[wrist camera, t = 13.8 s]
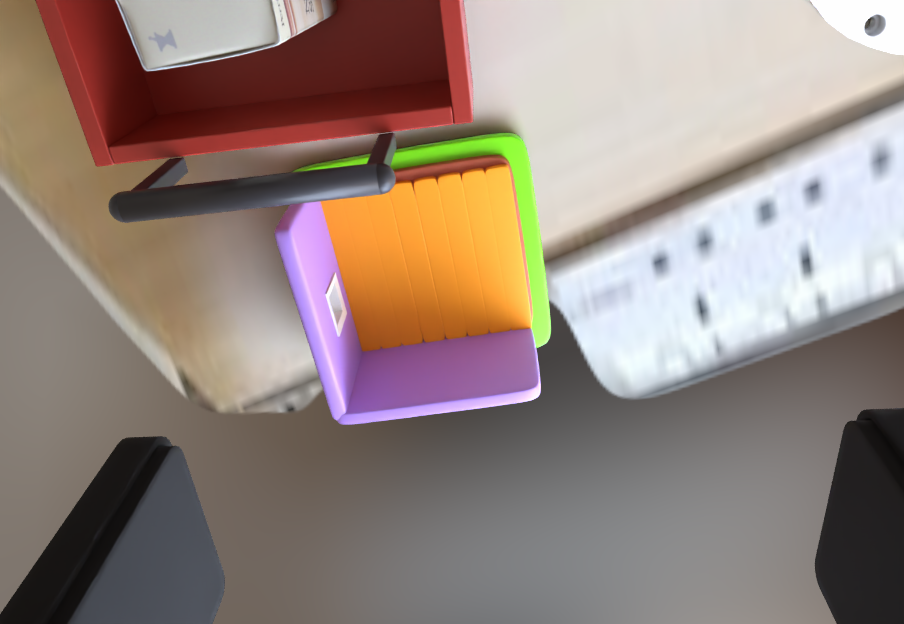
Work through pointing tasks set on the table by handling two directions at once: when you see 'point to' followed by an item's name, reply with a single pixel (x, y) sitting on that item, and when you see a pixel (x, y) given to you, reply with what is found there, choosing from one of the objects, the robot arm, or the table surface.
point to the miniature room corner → (424, 283)
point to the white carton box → (214, 27)
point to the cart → (263, 100)
